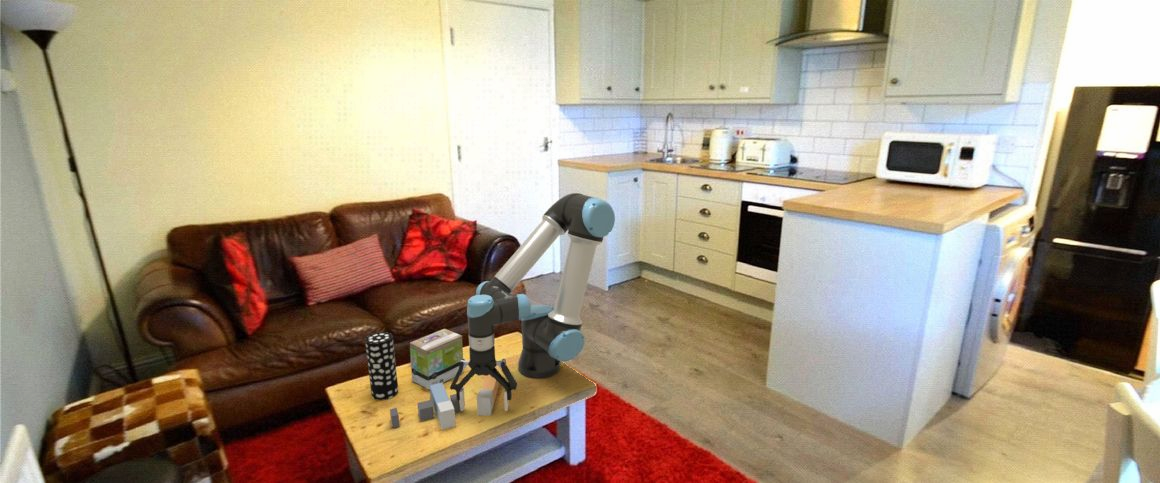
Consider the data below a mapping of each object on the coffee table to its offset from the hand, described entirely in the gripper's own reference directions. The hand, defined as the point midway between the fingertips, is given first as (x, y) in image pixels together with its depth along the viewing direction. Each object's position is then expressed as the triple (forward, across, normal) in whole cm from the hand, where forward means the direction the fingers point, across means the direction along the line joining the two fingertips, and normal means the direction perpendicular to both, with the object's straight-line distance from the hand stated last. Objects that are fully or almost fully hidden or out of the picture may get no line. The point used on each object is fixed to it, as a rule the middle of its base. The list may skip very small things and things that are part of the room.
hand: (484, 408), depth 164 cm
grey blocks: (+1, -18, -3) cm, 18 cm away
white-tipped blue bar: (+1, -13, -1) cm, 13 cm away
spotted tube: (+1, -35, +10) cm, 36 cm away
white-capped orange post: (+1, 0, +7) cm, 7 cm away
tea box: (+1, -20, +21) cm, 28 cm away
